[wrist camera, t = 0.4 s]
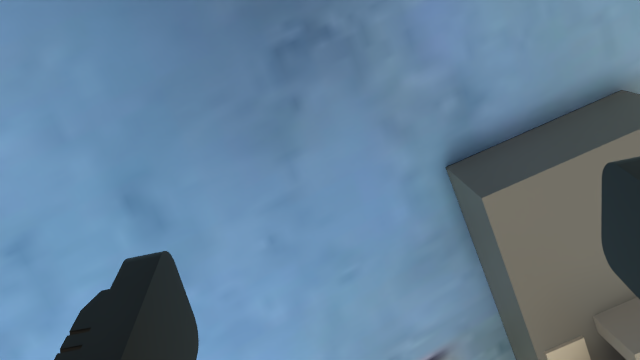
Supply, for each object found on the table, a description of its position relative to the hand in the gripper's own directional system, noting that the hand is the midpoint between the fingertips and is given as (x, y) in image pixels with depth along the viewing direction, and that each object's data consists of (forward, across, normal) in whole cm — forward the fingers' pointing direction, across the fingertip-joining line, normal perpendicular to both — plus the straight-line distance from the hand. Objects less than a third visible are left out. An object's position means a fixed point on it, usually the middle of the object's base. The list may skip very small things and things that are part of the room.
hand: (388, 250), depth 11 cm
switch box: (+18, -12, +18) cm, 28 cm away
